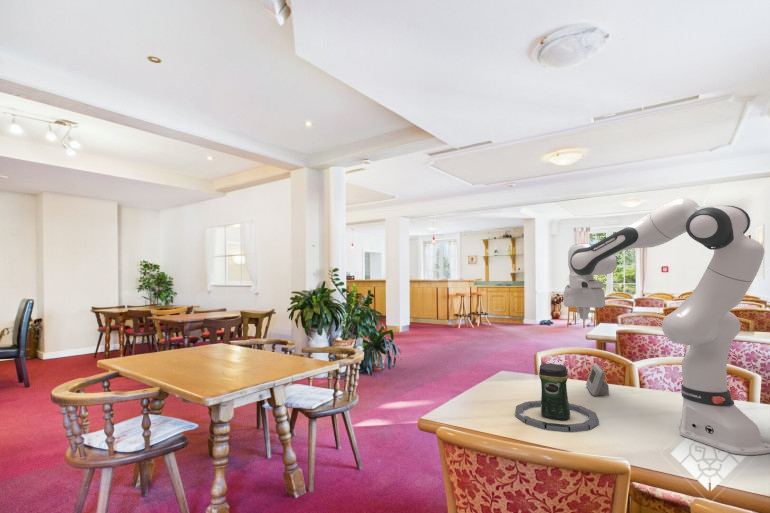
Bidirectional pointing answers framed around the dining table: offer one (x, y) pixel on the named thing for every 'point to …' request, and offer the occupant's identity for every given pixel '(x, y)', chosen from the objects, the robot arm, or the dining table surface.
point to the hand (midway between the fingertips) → (584, 318)
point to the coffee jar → (554, 391)
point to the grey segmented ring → (583, 426)
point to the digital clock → (597, 381)
